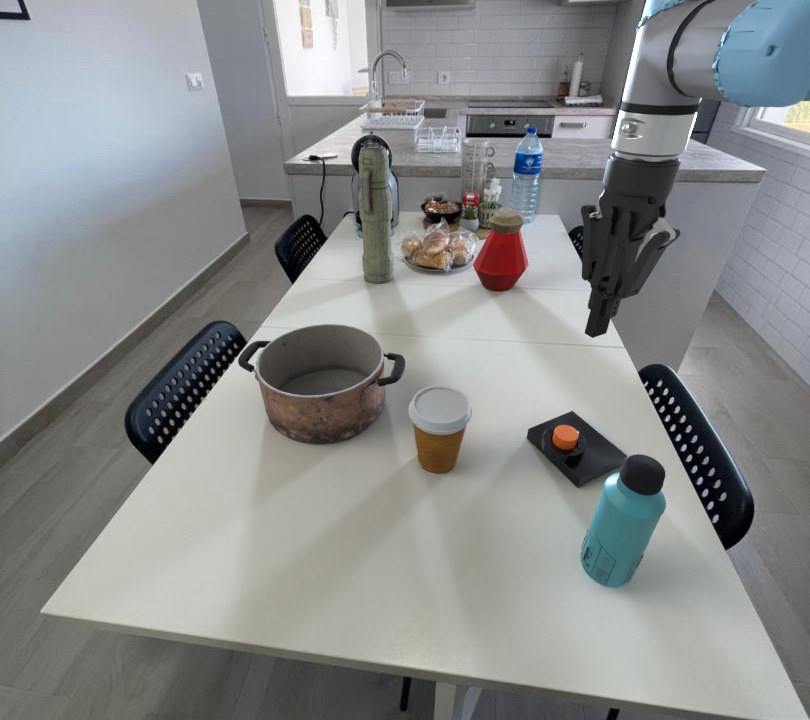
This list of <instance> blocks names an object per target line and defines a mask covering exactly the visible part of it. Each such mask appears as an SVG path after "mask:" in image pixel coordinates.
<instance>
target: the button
mask: <svg viewBox="0 0 810 720" xmlns="http://www.w3.org/2000/svg"><path fill="white" fill-rule="evenodd" d="M577 439H578V432H577V431H576V430H575V429H574V428H573V427H571V426H567V425H560V426H557V427H556V428H555V431H554V435H553V439H552V441H553V443H554V445H555V446H557V447H558V448H561V449H563V450H571V449H573V448H574V447H575V446H576V443H577Z"/></svg>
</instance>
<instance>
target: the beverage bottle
mask: <svg viewBox="0 0 810 720" xmlns="http://www.w3.org/2000/svg"><path fill="white" fill-rule="evenodd" d="M665 480H666V470H665V468H664V466H663V465H662V463H660V461H658V460H657V459H655V458H653V457H651V456H649V455H647V454H642V453H636V454H632V455H629V456H627V458H626V460H625V463H624V465H623V466H621V467H620V469H619V472H616V473H613V474H611V475H610V476H608V477H607V478H606V480H605V481H604V484H603V487H602V488H603V489H602V492H601V494H600V497H599V499H598V502H597V505H596V506H595V507H594V512H593V515H592V520H591V523H590V524H589V527H587V530H586V533H585V535H584V538H583V541H582V544H581V548H580V552H579V554H580V563H581V566H582V568H583V570H584V572H585V573H586V575H587V576H588V577H589V578H590V579H591V580H593V581H594V582H595V583H597V584H598V585H600V586H602V587H605V588H611V589H616V588H621V587H624V586H626V585H628V584H630V583H631V582H632V580H633V577H634V576H635V575H636V571H637V569H638V568H639V566H640V564H641V562H642V560H643V557H644V556H645V552H646V550H647V547H648V546H649V545H650V541H651V539H652V536H653V534H654V532H655V529H656V528H657V525H658V524H659V522H660V520H661V517H662V516H663V514H664V513H665V511H666V509H667V501H666V496H665V493H663V491H662V489H663V487H664V483H665ZM595 508H596V509H595Z"/></svg>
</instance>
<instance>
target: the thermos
mask: <svg viewBox="0 0 810 720" xmlns="http://www.w3.org/2000/svg"><path fill="white" fill-rule="evenodd" d="M358 174H359V175H358V176H359V181H360V185H359V192H358V193H359V194H358V211H359V219H360V222H361V229H362V247H363V253H362V255H361V256H362V257H361V261H362V271H363V279H364V281H365V282H367V283H371V284H375V285H377V284H378V285H381V284H386V283H389V282H391V281H392V280H393V279H394V270H395V263H394V253H393V250H392V219H393V196H392V193H391V188H390V183H389V180H390V158H389V155H388V152H387V149H386V147H385V146H383V145H382V144H376V143H375V144H364V145H363V146H361V147H360V151H359V156H358Z"/></svg>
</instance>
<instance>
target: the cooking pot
mask: <svg viewBox="0 0 810 720" xmlns="http://www.w3.org/2000/svg"><path fill="white" fill-rule="evenodd" d="M259 349H261V351H260V353H258V355H257V359H256V361H255V365H253V364H251V363H249V361H250V360H251V359H252V357H253V356H254V355H255V354H256V353H257V351H258V350H259ZM385 358H386V359H387V360H388V361H393V362H394V364H393V368H392V369H391V373H390V376H386V374H385V373H386V372H385ZM237 363H238V366H239V367H240V368H242V369H243V370H244V371H247V372H249V373H252V372H253V373H254V378H255V380H256V381H257V382H258V385H259V389H260V394H261V397H262V401H263V406H264V409H265V412H266V416H267V418H268V421H269V423H270V424H271V426H272V427H273V428H274V429H275V431H277V432H279V433H280V434H281V435H283V436H285V437H287V438H289V439H292V440H294V441H297V442H298V441H299V442H302V443H309V444H328V443H334V442H339V441H343V440H347V439H349V438H352V437H354V436H357V435H358V434H360V433H362V432H363V431H365V430H366V429H368V428H369V427H370V426H372V425H373V424H374V423H375V422H376V421H377V419H378V418H379V417H380V416H381V414H382V412H383V410H384V408H385V405H386V398H387V396H386V386H389V385H392V384H396V383H398V382H399V381H400V380H401V378H402V377H403V375H404V372H405V369H406V359H405V357H404V356H403V355H402V354H399V353H396V352H395V353H394V352H388V353H386V352H385V350H384V348H383V346H382V343H381V342H380V340H378V339H377V337H375V336H374V335H373V334H371V332H368V331H366V330H364V329H361V328H360V327H356V326H352V325H347V324H338V323H319V324H311V325H307V326H302V327H299V328H295V329H292V330H290V331H288V332H285V333H283V334H281V335H279V336H277V337H276V338H273V340H255V341H253V342H251V343H250V344H249V345H247V347H245V349H244V350H243V351H242V352H241V354H240V355H239V357H238V359H237Z"/></svg>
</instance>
